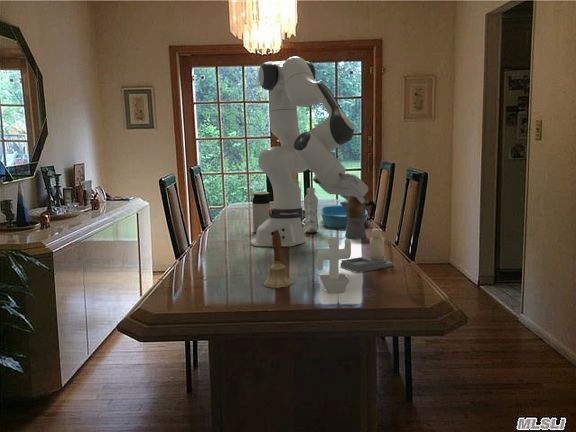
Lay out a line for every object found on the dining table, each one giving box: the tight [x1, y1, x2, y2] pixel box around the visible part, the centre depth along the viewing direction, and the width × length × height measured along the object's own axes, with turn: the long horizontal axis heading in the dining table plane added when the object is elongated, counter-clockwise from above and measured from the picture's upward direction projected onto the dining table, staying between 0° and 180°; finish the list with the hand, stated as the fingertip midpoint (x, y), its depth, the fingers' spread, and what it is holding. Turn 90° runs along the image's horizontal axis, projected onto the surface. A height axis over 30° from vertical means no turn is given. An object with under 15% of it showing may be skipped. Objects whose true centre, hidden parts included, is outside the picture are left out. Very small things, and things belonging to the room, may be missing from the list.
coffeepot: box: [339, 200, 377, 240], centre depth 217 cm, size 15×9×18 cm, turn 68°
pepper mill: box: [348, 196, 362, 218], centre depth 174 cm, size 5×5×10 cm
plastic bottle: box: [303, 187, 319, 234], centre depth 231 cm, size 6×7×20 cm
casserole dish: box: [320, 204, 368, 229], centre depth 256 cm, size 37×22×7 cm, turn 176°
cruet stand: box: [340, 228, 394, 273], centre depth 167 cm, size 15×9×12 cm, turn 119°
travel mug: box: [251, 191, 271, 233], centre depth 237 cm, size 8×8×18 cm
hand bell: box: [263, 230, 293, 289], centre depth 149 cm, size 8×8×16 cm
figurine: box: [316, 236, 352, 294], centre depth 141 cm, size 7×9×15 cm
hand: (356, 201), depth 174 cm, fingers closed on pepper mill, 5 cm apart
